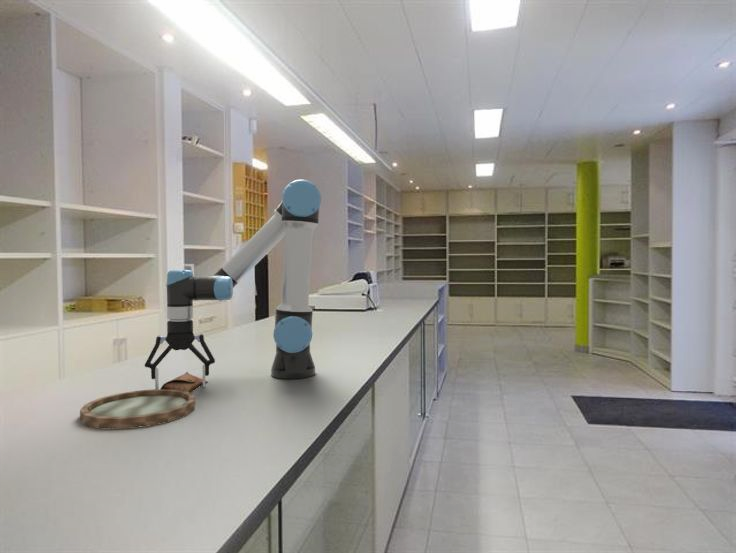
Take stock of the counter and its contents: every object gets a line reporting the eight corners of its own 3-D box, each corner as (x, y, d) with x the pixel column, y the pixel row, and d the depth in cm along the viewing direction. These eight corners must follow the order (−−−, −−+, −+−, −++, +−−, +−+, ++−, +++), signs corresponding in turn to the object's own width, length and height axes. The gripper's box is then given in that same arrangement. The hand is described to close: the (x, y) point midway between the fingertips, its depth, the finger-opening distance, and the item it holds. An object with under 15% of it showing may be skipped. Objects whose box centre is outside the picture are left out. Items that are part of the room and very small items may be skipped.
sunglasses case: (188, 395, 149) (176, 376, 149) (168, 408, 149) (156, 388, 149) (209, 381, 167) (199, 364, 167) (191, 392, 167) (181, 374, 167)
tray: (196, 394, 150) (196, 386, 150) (193, 422, 124) (193, 412, 124) (94, 402, 142) (94, 393, 142) (68, 434, 116) (68, 423, 116)
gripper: (221, 317, 164) (222, 382, 165) (137, 319, 157) (138, 387, 158) (222, 319, 157) (223, 387, 158) (134, 322, 150) (135, 393, 151)
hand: (180, 388), depth 158 cm, fingers open, 13 cm apart
